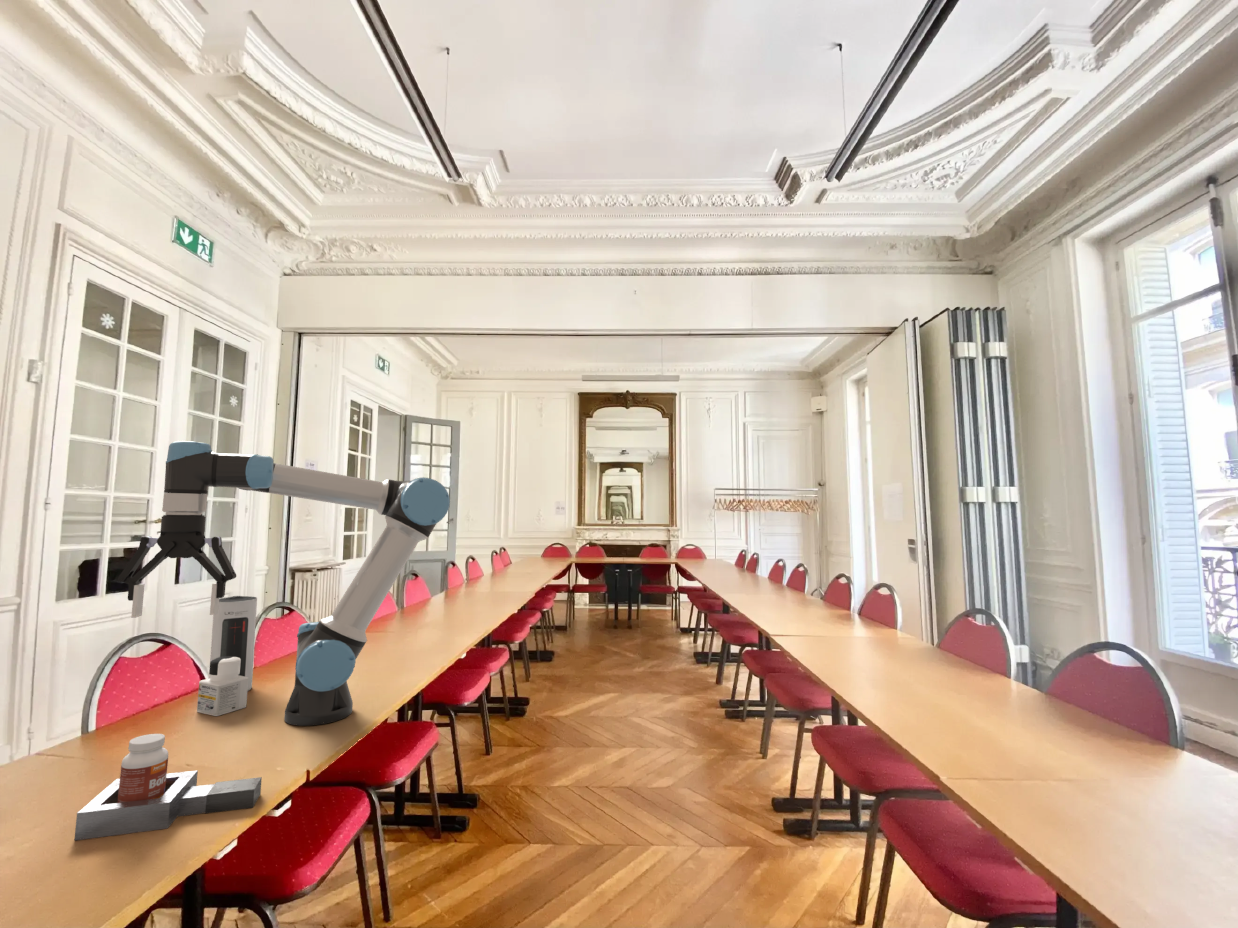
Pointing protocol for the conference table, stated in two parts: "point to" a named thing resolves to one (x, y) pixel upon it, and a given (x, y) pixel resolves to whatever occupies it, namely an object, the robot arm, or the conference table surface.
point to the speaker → (235, 632)
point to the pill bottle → (144, 769)
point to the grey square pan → (163, 805)
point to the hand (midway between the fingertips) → (176, 615)
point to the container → (223, 687)
